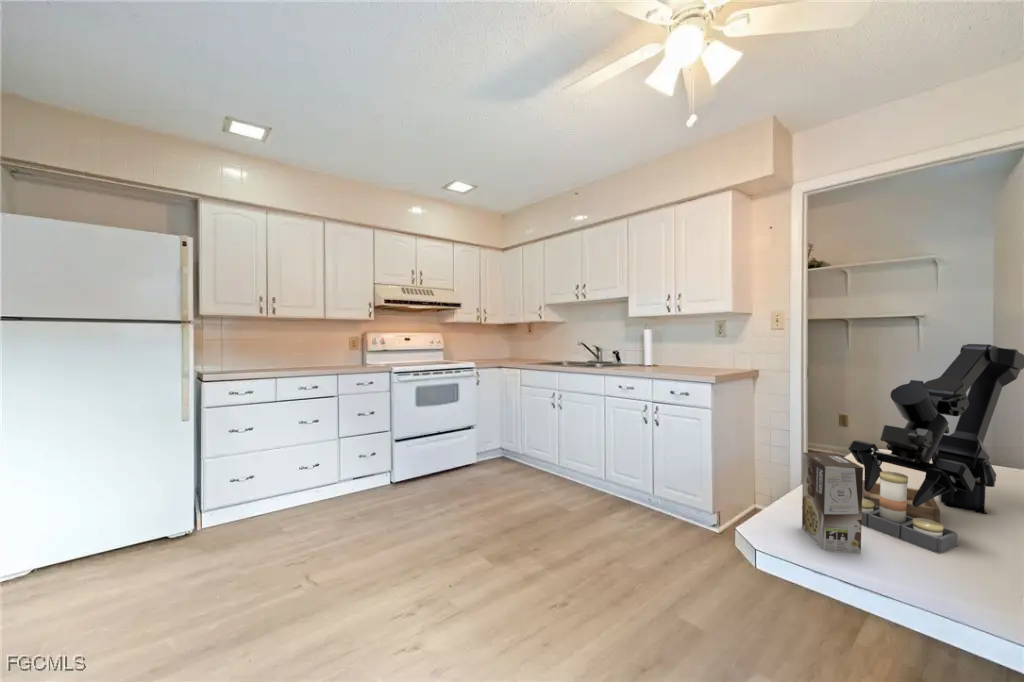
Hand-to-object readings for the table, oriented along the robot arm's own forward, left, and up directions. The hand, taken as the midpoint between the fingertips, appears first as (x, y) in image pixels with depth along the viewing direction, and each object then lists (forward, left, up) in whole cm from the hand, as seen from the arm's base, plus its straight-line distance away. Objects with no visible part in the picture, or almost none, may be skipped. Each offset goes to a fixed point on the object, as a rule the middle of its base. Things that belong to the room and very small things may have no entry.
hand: (889, 497), depth 86 cm
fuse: (-5, +2, -7) cm, 9 cm away
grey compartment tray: (-1, -1, -7) cm, 7 cm away
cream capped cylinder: (-1, -1, -7) cm, 7 cm away
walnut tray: (-3, -15, -7) cm, 17 cm away
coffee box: (+9, +11, -7) cm, 16 cm away
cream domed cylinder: (+4, -4, -7) cm, 9 cm away
